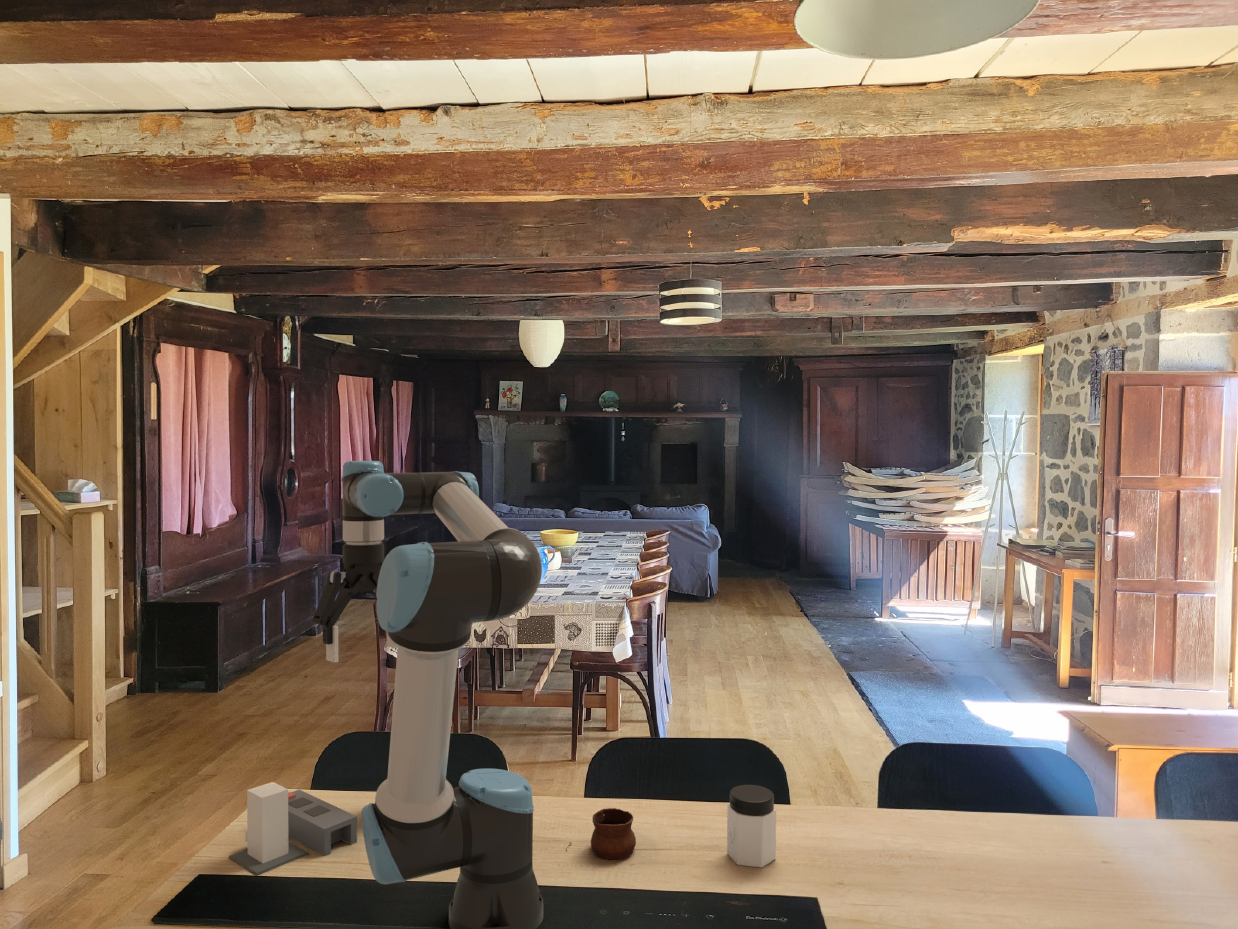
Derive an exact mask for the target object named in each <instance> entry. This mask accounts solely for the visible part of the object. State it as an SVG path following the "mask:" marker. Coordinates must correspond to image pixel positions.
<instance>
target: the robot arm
mask: <svg viewBox="0 0 1238 929" xmlns="http://www.w3.org/2000/svg"><path fill="white" fill-rule="evenodd" d="M384 470H385V469H384V464H383V462H381V461H379V460H348V461H344V463H343V465H342V474H341V475H342V476H341V477H340V478H341V479H340V481H341V482H342V483H341V484H342V486H341V488H342V491H341V492H342V540H343V542H345V543H344V544H343V545H342V563H343V570H342V571H334V570H330V571H329V572H328V574H327V582H326V584H325V588H324V590H323V592H322V595H321V597H320V600H319V602H318V604H317V607H316V609H315V612H314V615H313V616H312V617H313V618H312V620H311V622H312V624H315V625H319V626H321V627H322V643H323V644H325V650H326V651H325V653H326V654H325V656H326V657H325V660H326V661H328V662H332V663H338V662H339V626H338V625H336V623H337V621H338V620H339V618H340V616H341V615H342V613H343V612H344V611H345V609H346V607H347V606H348V604H349V602H351V600H352V598H353V597H355V596H356V595H357V593H358V594H359V593H360V594H361V593H364V592H367V591H368V592H375V593H376V595H375V597H376V599H377V600H376V604H375V605H376V607H375V608H376V617H377V621H378V624H379V626H380V628H381V629H382V630H384V631H386V632H387V634H386V635H387V637H386V638H387V639H386V642H387V646H386V647H387V648H389V647H390V648H392V649H397V651H396V652H397V653H396V662H395V663H396V665H395V666H396V667H395V677H394V678H395V679H394V688H393V702H392V704H393V705H392V713H391V725H390V726H391V728H390V729H391V730H390V741H389V751H388V752H389V753H388V754H389V755H388V764H387V765H388V768H387V777H386V779H385V780H383V781H382V782H381V783H380V784H379V786H378V787H377V790H376V791H375V792H376V793H375V797H374V798H375V801H374V803H373V802H369V803H368V804H365V805H364V806H363V807H362V808H361V811H360V812H361V814H360V815H361V816H360V818H361V827H362V829H361V830H362V834H363V841H364V846H365V850H366V852H365V853H366V857H367V859H368V864H369V867H370V870H371V873H372V877H373V878H374V880H375V881H376V882H377V883H378V884H381V885H390V884H396V883H406V881H410V880H414V879H418V878H421V877H425V876H430V875H433V874H438V873H442V872H445V871H446V872H447V871H449V870H450V871H451V870H453V869H458V868H459V874H458V878H457V880H456V881H457V882H456V883H455V884H456V885H455V888H454V892H453V897H452V898H451V901H450V903H449V906H448V926H449V928H450V929H538V928H539V927H540V925H541V924H542V922H543V919H544V899H543V896H542V893H541V891H540V887H539V884H538V881H537V878H536V875H535V871H534V868H533V867H534V866H533V856H534V853H533V843H534V842H533V841H534V839H533V838H534V836H533V833H534V832H533V830H534V810H535V807H534V803H533V789H532V785H531V783H530V782H529V781H528V780H527V779H526V778H525V777H524V776H523V775H521V774H518V773H516V772H513V771H510V770H506V769H501V768H500V769H499V768H487V767H486V768H476V769H471V770H468V771H467V772H465V773H463V774H462V775H461V776H460V779H459V781H458V787H454V788H453V785H452V784H451V783H450V782H449V781H448V779H447V768H448V760H449V749H450V740H451V731H452V730H451V729H452V728H451V727H452V719H453V709H454V699H455V690H456V689H455V688H456V678H457V670H458V668H457V667H458V661H459V660H458V659H459V651H460V649H462V648H464V647H465V646H466V645H467V644H468V643H469V642H470V640H471V636H472V628H473V624H475V623H482V622H490V621H491V622H493V621H499V620H504V619H506V618H509V617H511V616H513V615H515V614H517V613H518V612H519V611H521V610H522V609H523V608H525V607H526V606H527V605H528V604H529V603H530V602H531V601H532V599H533V597H534V596H535V594H536V592H537V591H538V589H539V586H540V583H541V579H542V575H543V569H542V568H543V566H542V564H543V563H542V559H541V555H540V553H539V550H538V549H537V547H536V545H535V543H534V542H533V541H532V540H531V539H530V538H529V537H528V536H527V535H526V534H525V533H523V532H522V531H521V530H518V529H516V528H511V527H508V525H506V524H505V523H504V521H502V520H501V518H499V516H497V515H496V513H494V511H493V510H492V509H490V507H488V505H487V504H485V503H484V501H483V500H481V498H480V490H479V484H478V483H479V482H478V481H477V478H476V476H475V474H473V473H471V472H465V471H457V470H456V471H455V470H452V471H433V472H431V471H430V472H429V471H427V472H385V471H384ZM414 514H416V515H419V514H435V516H437V517H438V518H439V520H440V521H441V522H442V524H444V526H445V527H446V528H447V529H448V531H450V533H451V535H453V537H454V538H455V540H456V541H446V542H445V541H442V542H441V541H440V542H427V541H421V542H417V543H414V544H402V545H399V546H395V547H394V548H393V549H391V550H390V551H389V552H388V553H387V555H386V556H385V544H384V543H383V542H382V541H383V540H384V539H385V517H388V516H390V515H392V516H393V515H414ZM343 582H344V583H343ZM342 583H343V584H342ZM341 584H342V586H341Z"/></svg>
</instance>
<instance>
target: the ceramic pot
mask: <svg viewBox="0 0 1238 929" xmlns="http://www.w3.org/2000/svg"><path fill="white" fill-rule="evenodd" d="M633 821H634V815H633V814H632V813H630V812H629V811H626V810H622V809H620V808H616V807H615V808H609V807H608V808H601V809H600V810H597V812H595V813H594V814H592V823H593V826H594V829H593V832H592V835H591V838H590V846H591V850H592V852H593V853H594V855H595V856H596V857H597V858H598V859H601V860H604V861H611V862H614V861H616V862H617V861H623V860H625V859H626V860H627V859H628V858H629V857H631V855H632V854H633V852H634V850H635V847H636V844H637V840H636V836H635V832H634V831H633V829H632V825H633ZM572 844H573V843H572V841H570V842H569V844H568V846H567V847H566V848H565V853H566V852H567V851H568V848H569V847H571V846H572Z"/></svg>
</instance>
